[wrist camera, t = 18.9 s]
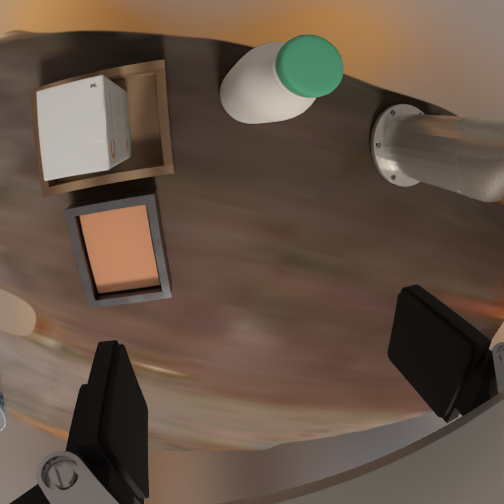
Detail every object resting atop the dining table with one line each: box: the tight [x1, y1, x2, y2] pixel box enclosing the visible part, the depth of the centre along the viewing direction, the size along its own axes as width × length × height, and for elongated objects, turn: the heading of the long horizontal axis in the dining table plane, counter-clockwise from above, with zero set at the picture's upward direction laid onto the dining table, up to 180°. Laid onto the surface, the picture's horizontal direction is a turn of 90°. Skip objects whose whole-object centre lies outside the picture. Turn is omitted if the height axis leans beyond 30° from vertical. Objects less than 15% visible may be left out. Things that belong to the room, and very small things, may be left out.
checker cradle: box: [65, 188, 172, 308], centre depth 38 cm, size 11×13×4 cm
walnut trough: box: [31, 60, 175, 197], centre depth 32 cm, size 16×13×4 cm
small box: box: [36, 75, 132, 181], centre depth 27 cm, size 8×6×13 cm
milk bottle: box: [220, 35, 343, 124], centre depth 28 cm, size 8×8×20 cm
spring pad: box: [80, 204, 160, 293], centre depth 38 cm, size 8×10×1 cm
